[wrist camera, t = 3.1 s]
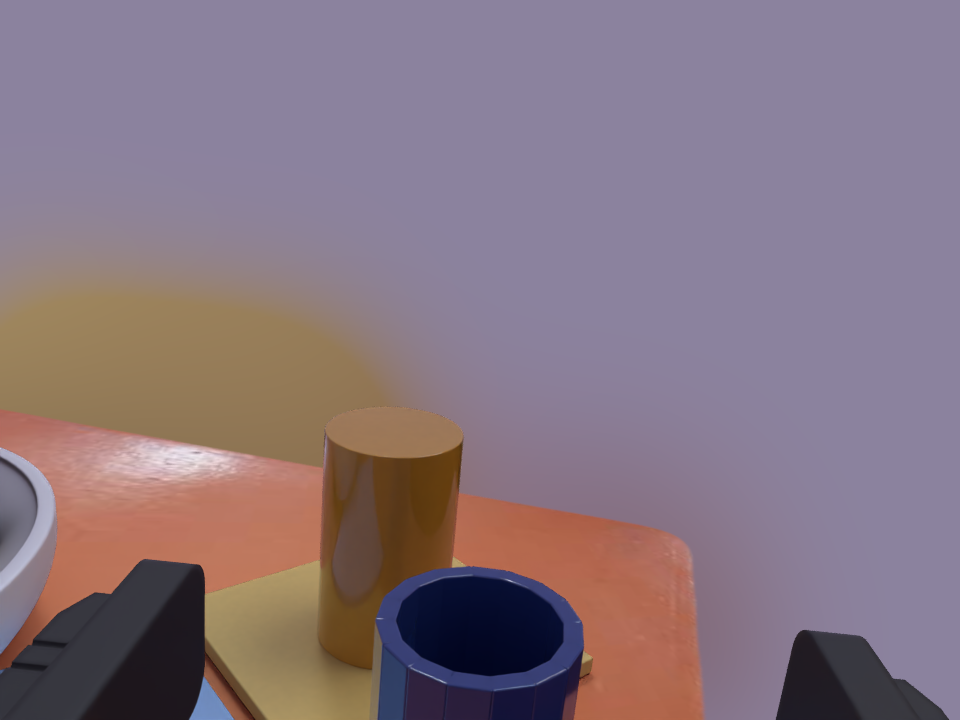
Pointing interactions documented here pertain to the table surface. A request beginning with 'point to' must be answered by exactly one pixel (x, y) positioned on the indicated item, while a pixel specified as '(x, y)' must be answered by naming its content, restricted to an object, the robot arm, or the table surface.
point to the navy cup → (475, 649)
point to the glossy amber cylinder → (382, 516)
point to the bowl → (23, 540)
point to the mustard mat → (286, 650)
